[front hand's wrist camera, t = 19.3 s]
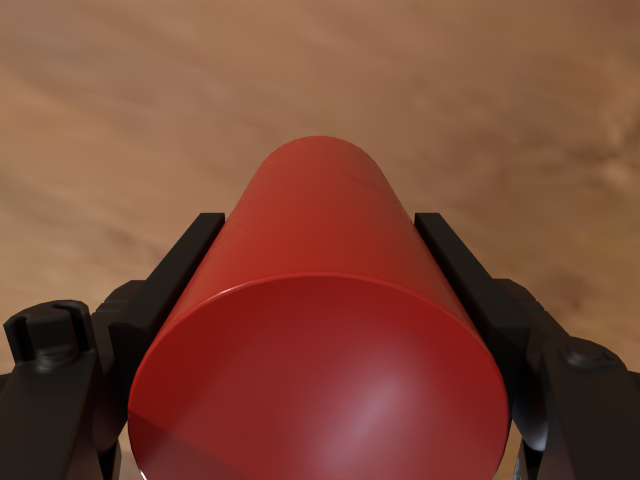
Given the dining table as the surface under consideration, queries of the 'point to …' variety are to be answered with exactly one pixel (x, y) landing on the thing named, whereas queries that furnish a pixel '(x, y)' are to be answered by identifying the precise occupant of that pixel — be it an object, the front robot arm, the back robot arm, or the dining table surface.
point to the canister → (318, 343)
